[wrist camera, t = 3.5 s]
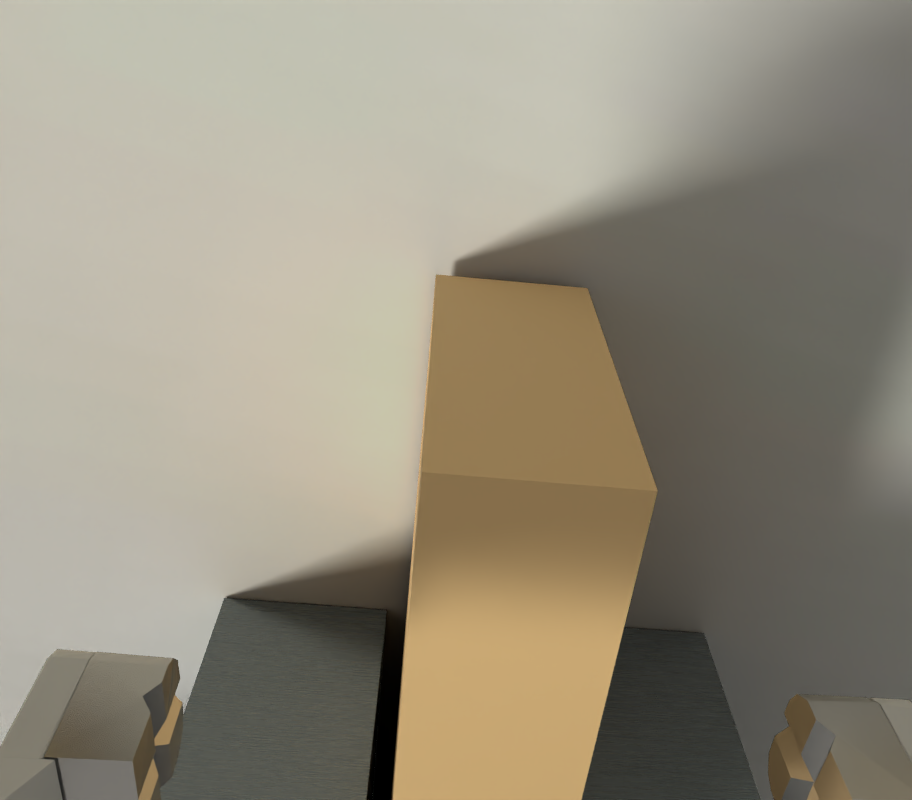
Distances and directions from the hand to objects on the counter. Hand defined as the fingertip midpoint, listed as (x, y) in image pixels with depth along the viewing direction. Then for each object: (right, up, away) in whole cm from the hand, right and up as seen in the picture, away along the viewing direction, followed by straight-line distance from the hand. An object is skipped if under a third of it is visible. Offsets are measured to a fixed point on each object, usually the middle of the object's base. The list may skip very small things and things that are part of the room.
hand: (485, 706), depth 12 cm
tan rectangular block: (0, 0, +9) cm, 9 cm away
